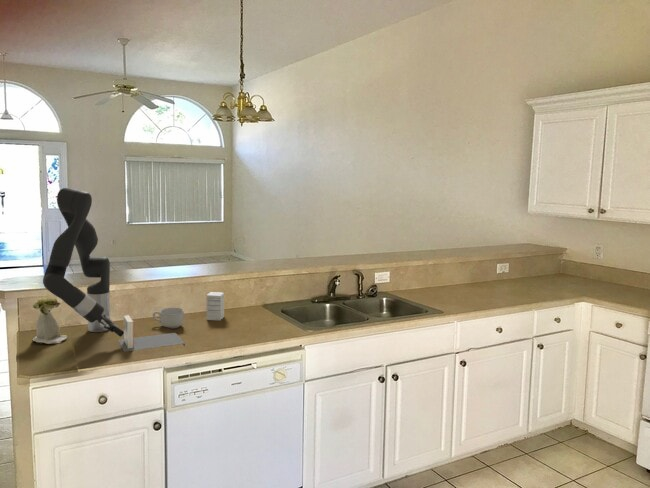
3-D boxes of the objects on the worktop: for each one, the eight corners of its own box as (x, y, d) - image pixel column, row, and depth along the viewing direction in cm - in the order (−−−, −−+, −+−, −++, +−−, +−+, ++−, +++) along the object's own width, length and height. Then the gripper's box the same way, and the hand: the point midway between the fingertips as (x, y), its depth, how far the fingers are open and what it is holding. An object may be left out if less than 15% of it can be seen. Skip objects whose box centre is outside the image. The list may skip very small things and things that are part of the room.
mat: (118, 341, 215) (118, 339, 215) (175, 334, 227) (175, 332, 227) (123, 353, 202) (123, 351, 201) (184, 345, 213) (184, 343, 213)
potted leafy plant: (47, 347, 206) (45, 303, 203) (25, 342, 211) (22, 299, 208) (72, 339, 217) (70, 296, 214) (50, 334, 222) (48, 293, 219)
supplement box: (210, 316, 258) (210, 291, 257) (224, 316, 258) (224, 292, 256) (206, 320, 251) (206, 295, 249) (220, 320, 251) (221, 295, 249)
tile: (124, 341, 214) (123, 315, 212) (130, 340, 215) (129, 315, 213) (128, 348, 205) (127, 322, 204) (134, 347, 206) (133, 321, 205)
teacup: (186, 323, 244) (186, 307, 243) (180, 330, 233) (179, 313, 232) (158, 322, 244) (157, 306, 243) (149, 329, 233) (149, 312, 232)
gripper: (97, 305, 196) (131, 331, 203) (93, 297, 207) (126, 323, 215) (82, 320, 194) (117, 346, 201) (79, 311, 205) (113, 336, 213)
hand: (122, 334), depth 208 cm, fingers closed
